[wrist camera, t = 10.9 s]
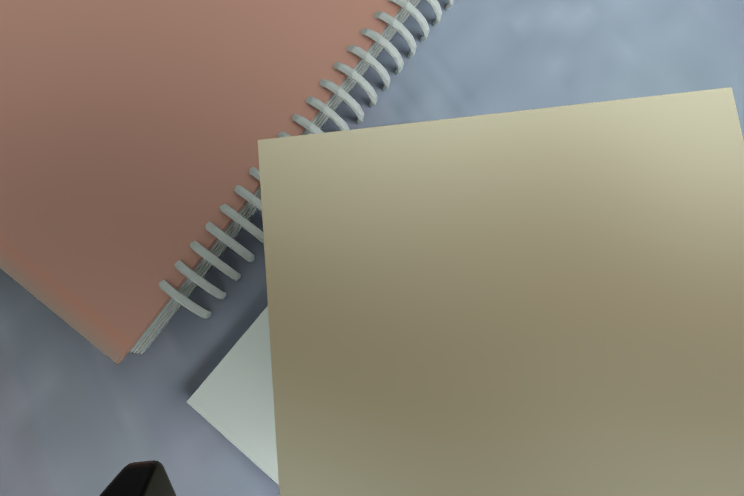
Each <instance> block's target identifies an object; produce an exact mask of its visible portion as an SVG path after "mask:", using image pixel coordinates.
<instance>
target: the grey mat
mask: <svg viewBox="0 0 744 496" xmlns="http://www.w3.org/2000/svg"><path fill="white" fill-rule="evenodd" d="M187 403H188V404H189V405H190V406H192V407H193V408H194V409H195V410H196V411H197V412H198V413H199V414H200V415H202V416H203V417H204V418H205V419H206V420H207V421H208V422H209V423H210V424H212V425H213V426H214V427H215V428H216V429H217V430H218V431H219V432H220V433H222V434H223V435H224V436H225V437H226V438H227V439H228V440H229V441H230V442H231V443H233V444H234V445H235V446H236V447H237V448H238V449H239V450H240V451H241V452H243V453H244V454H245V455H246V456H247V457H248V458H249V459H250V460H251V461H253V462H254V463H255V464H256V465H257V466H258V467H259V468H260V469H261V470H263V471H264V472H265V473H266V474H267V475H268V476H269V477H270V478H271V479H273V480H274V481H275V482H276V483H277V484H278V485H279V480H278V464H277V447H276V431H275V415H274V399H273V382H272V366H271V350H270V333H269V317H268V306H267V307H266V308H265V309H264V310H263V312H262V313H261V314H260V315H259V316H258V318H257V319H256V320H255V321H254V322H253V324H252V325H251V326H250V327H249V328H248V330H247V331H246V332H245V333H244V334H243V335H242V337H241V338H240V339H239V340H238V341H237V343H236V344H235V345H234V346H233V347H232V349H231V350H230V351H229V352H228V353H227V354H226V356H225V357H224V358H223V359H222V360H221V362H220V363H219V364H218V365H217V366H216V368H215V369H214V370H213V371H212V372H211V374H210V375H209V376H208V377H207V378H206V379H205V381H204V382H203V383H202V384H201V385H200V387H199V388H198V389H197V390H196V391H195V393H194V394H193V395H192V396H191V397H190V398H189V400H188V401H187Z"/></svg>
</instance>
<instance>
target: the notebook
mask: <svg viewBox="0 0 744 496" xmlns="http://www.w3.org/2000/svg"><path fill="white" fill-rule="evenodd" d="M421 1H422V0H0V268H1V269H2V270H3V271H4V272H5V273H7V274H8V275H9V276H10V277H12V278H13V279H14V280H15V281H16V282H18V283H19V284H20V285H21V286H22V287H24V288H25V289H26V290H27V291H29V292H30V293H31V294H32V295H33V296H35V297H36V298H37V299H38V300H39V301H41V302H42V303H43V304H44V305H46V306H47V307H48V308H49V309H50V310H52V311H53V312H54V313H55V314H56V315H58V316H59V317H60V318H61V319H63V320H64V321H65V322H66V323H67V324H69V325H70V326H71V327H72V328H73V329H75V330H76V331H77V332H78V333H80V334H81V335H82V336H83V337H84V338H86V339H87V340H88V341H89V342H90V343H92V344H93V345H94V346H95V347H97V348H98V349H99V350H100V351H101V352H103V353H104V354H105V355H106V356H108V357H109V358H110V359H111V360H112V361H114V362H115V363H116V364H120V362H121V361H122V360H123V359H124V357H125V356H126V355H127V354H128V352H131V353H132V352H133V353H135V352H136V353H140V354H143V353H144V352H145V351H146V350H147V348H148V347H149V346H150V345H151V343H152V342H153V341H154V340H155V338H156V337H157V336H158V334H159V333H160V332H161V331H162V329H163V328H164V327H165V326H166V324H167V323H168V322H169V321H170V319H171V318H172V317H173V315H174V314H175V313H176V312H177V310H178V309H179V308H180V307H181V305H182V306H184V307H185V308H187V309H188V310H190V311H191V312H193V313H194V314H196V315H198V316H200V317H201V318H203V319H206V318H209V317H210V316H211V313H212V311H211V310H205V309H203V308H202V307H200V306H199V305H197V304H196V303H194V302H193V301H191V300H190V299H188V296H189V295H190V294H191V293H192V291H193V290H194V289H195V288H196V286H197V285H198V286H199V287H201V288H202V289H204V290H205V291H206V292H208V293H209V294H211V295H213V296H214V297H216V298H218V299H224V298H225V296H226V295H227V294H226V292H225V291H222V290H220V289H218V288H217V287H215V286H214V285H212V284H211V283H210V282H208V281H207V280H205V279H204V278H203V277H204V276H205V275H206V274H207V272H208V271H209V270H210V269H211V267H212V266H215V267H216V268H217V269H219V270H220V271H221V272H223V273H224V274H226V275H227V276H229V277H230V278H232V279H233V280H235V281H237V280H238V279H239V278H241V274H240V273H238V272H237V271H235V270H234V269H232V268H231V267H230V266H228V265H227V264H226V263H224V262H223V261H222V260H220V259H219V257H220V256H221V255H222V253H223V252H224V251H225V250H226V248H227V247H230V248H231V249H232V250H234V251H235V252H236V253H238V254H239V255H240V256H242V257H243V258H244V259H245V260H247V261H248V262H252V261H253V260H255V256H254V254H252V253H251V252H250V251H248V250H247V249H246V248H244V247H243V246H242V245H241V244H239V243H238V242H237V241H235V240H234V238H235V237H236V236H237V234H238V233H239V232H240V231H241V229H242V228H244V229H246V230H247V231H248V232H249V233H251V234H252V235H253V236H254V237H256V238H257V239H258V240H259V241H260V242H262V244H263V245H264V236H263V232H262V231H261V230H260V229H259V228H257V227H256V226H255V225H253V224H252V223H251V222H250V221H248V220H249V219H250V218H251V217H252V215H253V214H254V213H255V212H256V210H257V209H258V210H260V211H261V212H262V203H261V187H260V170H259V154H258V140H263V139H272V138H281V137H290V136H299V135H308V134H317V133H324V132H323V131H322V130H321V128H322V127H323V125H324V124H325V123H326V122H327V120H328V119H329V118H330V119H331V120H332V121H333V122H334V123H335V124H336V125H337V126H338V127H339V128H340V129H341V131H344V130H350V129H349V127H348V125H347V123H346V122H345V121H344V120H343V119H342V118H341V117H340V116H339V115H338V114H337V113H335V112H334V111H335V110H336V109H337V108H338V106H339V105H340V104H341V103H342V101H344V102H345V103H347V104H348V105H349V106H350V107H351V108H352V109H353V111H354V112H355V114H356V115H357V121H356V123H357V124H359V123H360V122H362V121H363V118H364V112H363V110H362V108H361V107H360V105H359V104H358V103H357V102H356V101H355V100H354V99H353V98H352V97H351V96H350V95H349V92H350V91H351V90H352V89H353V87H354V86H355V85H356V84H357V83H358V84H359V85H360V86H361V87H362V88H363V89H364V90H365V91H366V93H367V94H368V96H369V97H370V100H371V101H370V104H369V106H370V108H371V107H372V106H374V105H375V104H376V102H377V94H376V92H375V90H374V88H373V87H372V86H371V85H370V84H369V83H368V82H367V81H366V80H365V79H364V78H363V77H362V76H363V75H364V73H365V72H366V71H367V70H368V68H369V67H370V66H372V67H373V68H374V69H375V70H376V71H377V72H378V73H379V74H380V76H381V78H382V80H383V82H384V85H383V88H382V90H383V91H384V90H386V89H387V88H389V85H390V81H391V79H390V77H389V75H388V72H387V70H386V69H385V68H384V67H383V66H382V65H381V64H380V63H379V62H378V61H377V60H376V58H377V57H378V56H379V54H380V53H381V52H382V51H383V49H385V50H386V51H387V52H388V53H389V54H390V55H391V56H392V57H393V58H394V60H395V62H396V65H397V68H396V70H395V74H398V73H400V72H401V71H402V68H403V64H404V62H403V60H402V57H401V55H400V53H399V52H398V50H397V49H396V48H395V47H394V46H393V45H392V44H391V43H390V40H391V39H392V38H393V37H394V35H395V34H396V33H397V32H399V33H400V34H401V35H402V36H403V37H404V38H405V39H406V41H407V43H408V45H409V48H410V52H409V53H408V56H407V57H408V58H410V57H412V56H413V55H415V51H416V47H417V45H416V43H415V40H414V37H413V36H412V35H411V33H410V32H409V31H408V30H407V29H406V28H405V27H404V26H403V24H404V23H405V21H406V20H407V19H408V18H409V16H410V15H412V16H413V17H414V18H415V19H416V20H417V21H418V23H419V24H420V26H421V28H422V32H423V36H421V39H420V41H421V42H423V41H424V40H426V39H427V37H428V34H429V30H430V29H429V26H428V23H427V20H426V19H425V18H424V16H423V15H422V14H421V12H419V11H418V10H417V9H416V7H417V6H418V5H419V4H420V2H421ZM427 1H428V2H429V3H430V5H431V6H432V7H433V9H434V12H435V17H436V20H434V21H433V24H432V25H433V26H435V25H437V24H438V23H440V20H441V16H442V10H441V7H440V4H439V2H438V1H437V0H427ZM453 2H454V0H448V4H446V7H445V10H446V11H447V10H448V9H449V8H451V7H452V5H453Z"/></svg>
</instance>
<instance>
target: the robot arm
mask: <svg viewBox="0 0 744 496" xmlns="http://www.w3.org/2000/svg"><path fill="white" fill-rule="evenodd" d="M100 496H176V494H175V492H174V490H173V487H172V485H171V483H170V480H169V478H168V476H167V473H166V471H165V469H164V467H163V465H162V464H161V463H160V462H159V461H155V460H154V461H144V462H134V463H130V464H128V465H127V466H126V467H124V468H123V469H122V470H121V472H120V473H119V474H118V475H117V476H116V477H115V478H114V480H113V481H112V482H111V483H110V484H109V485H108V486H107V488H106V489H105V490H104V491H103V492H102V493H101V494H100Z"/></svg>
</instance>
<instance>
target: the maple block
mask: <svg viewBox="0 0 744 496" xmlns="http://www.w3.org/2000/svg"><path fill="white" fill-rule="evenodd" d="M258 154H259V170H260V187H261V203H262V219H263V236H264V252H265V268H266V284H267V301H268V317H269V333H270V350H271V366H272V382H273V399H274V415H275V431H276V447H277V464H278V480H279V496H744V140H743V136H742V131H741V127H740V122H739V118H738V113H737V109H736V104H735V100H734V96H733V91H732V87H730V88H721V89H712V90H703V91H694V92H685V93H676V94H667V95H658V96H649V97H640V98H631V99H622V100H613V101H604V102H595V103H586V104H577V105H568V106H559V107H550V108H541V109H532V110H523V111H514V112H505V113H496V114H487V115H478V116H470V117H461V118H452V119H443V120H434V121H425V122H416V123H407V124H398V125H389V126H380V127H371V128H362V129H353V130H344V131H335V132H326V133H317V134H308V135H299V136H290V137H281V138H272V139H263V140H258Z"/></svg>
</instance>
